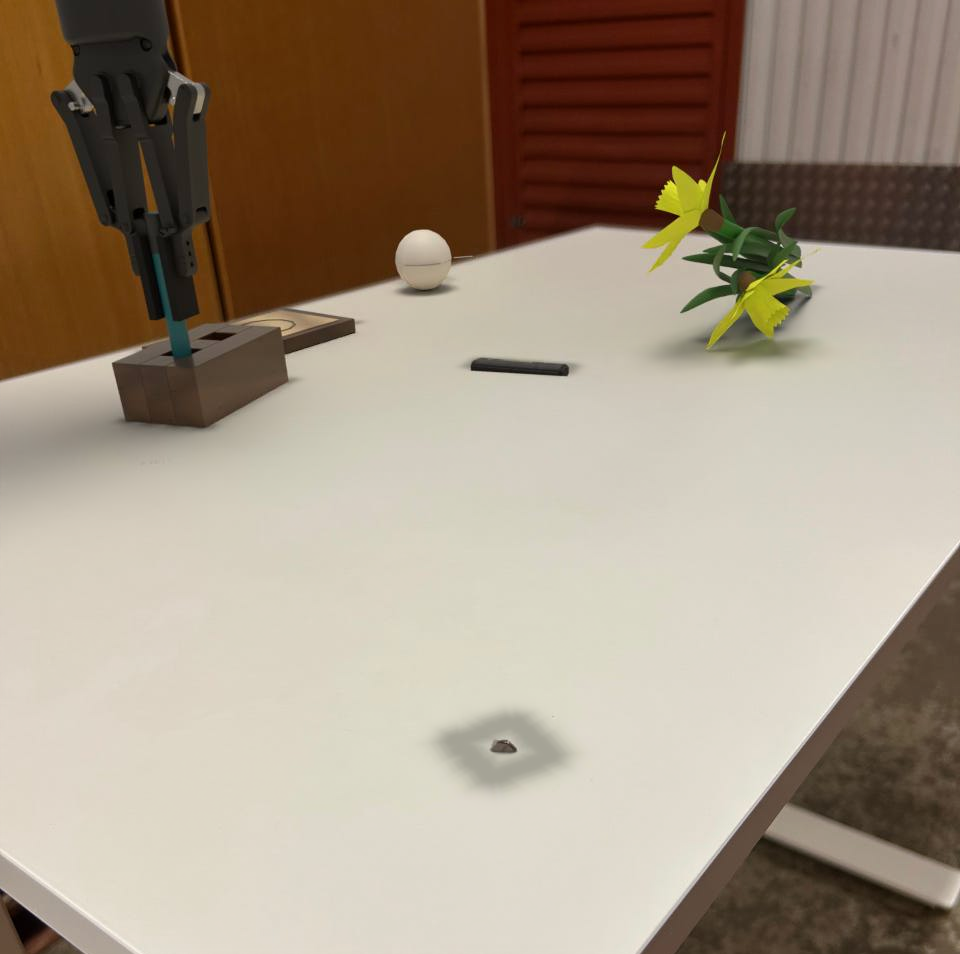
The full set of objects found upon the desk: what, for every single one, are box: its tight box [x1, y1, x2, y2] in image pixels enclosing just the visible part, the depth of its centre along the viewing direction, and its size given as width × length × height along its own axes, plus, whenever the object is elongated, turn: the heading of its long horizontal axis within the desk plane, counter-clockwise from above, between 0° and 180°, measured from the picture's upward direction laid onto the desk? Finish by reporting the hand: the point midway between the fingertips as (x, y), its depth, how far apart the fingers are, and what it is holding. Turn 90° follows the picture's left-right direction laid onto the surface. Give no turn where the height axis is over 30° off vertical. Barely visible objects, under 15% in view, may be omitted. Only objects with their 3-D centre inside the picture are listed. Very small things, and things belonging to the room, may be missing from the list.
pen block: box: [111, 322, 290, 429], centre depth 88 cm, size 8×14×6 cm, turn 159°
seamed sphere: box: [394, 229, 474, 291], centre depth 128 cm, size 10×7×7 cm
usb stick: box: [470, 357, 570, 377], centre depth 93 cm, size 10×3×2 cm, turn 65°
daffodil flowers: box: [640, 130, 822, 351], centre depth 102 cm, size 17×15×35 cm
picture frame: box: [141, 307, 357, 355], centre depth 109 cm, size 20×12×2 cm, turn 141°
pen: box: [143, 210, 192, 357], centre depth 83 cm, size 2×2×16 cm
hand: (174, 316), depth 83 cm, fingers closed on pen, 2 cm apart
